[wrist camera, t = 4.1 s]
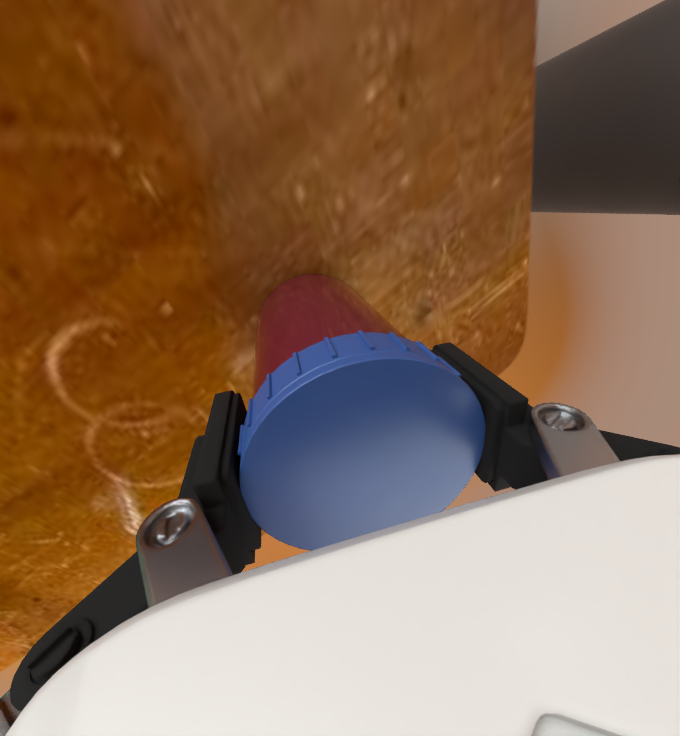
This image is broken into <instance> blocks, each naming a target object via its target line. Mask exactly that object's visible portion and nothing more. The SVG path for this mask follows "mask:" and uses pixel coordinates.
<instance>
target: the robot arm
mask: <svg viewBox="0 0 680 736" xmlns="http://www.w3.org/2000/svg"><path fill="white" fill-rule="evenodd" d="M431 351H432V352H433V353H434V354H435V355H436V356H437V357H438V356H440V357H441V358H442V359H443V360H445V361H446V362H447V363H448V364H449V365H450V366H452V367H453V368H454V369H455V370H456V371H458V372H459V373H460V374H461V375H462V376H461V377H460V378H461V379H462V380H463V381H464V382H465V383H466V384H468V386H469V387H470V388H471V390H472V391H473V392H474V393H475V395H476V397H477V399H478V401H479V403H480V405H481V407H482V411H483V414H484V418H485V427H486V429H485V438H484V446H483V452H482V456H481V459H480V461H479V464H478V466H477V468H476V470H475V473H476V474H477V476H478V477H479V478H480V479H481V480H482V481H483V482H485V483H487V482H488V484H489V485H490V486H491V487H492V488H493V490H494V491H499V490H502V489H506V488H509V487H510V486H511V487H512V488H514V489H515V490H513V491H510V492H506V493H503V494H499V495H496V496H492V497H489V498H486V499H482V500H479V501H476V502H472V503H469V504H466V505H462V506H458V507H455V508H452V509H448V510H445V511H442V512H438V513H435V514H431V515H428V516H425V517H421V518H418V519H415V520H411V521H408V522H405V523H401V524H398V525H394V526H391V527H388V528H384V529H381V530H378V531H374V532H371V533H368V534H364V535H361V536H358V537H355V538H351V539H348V540H345V541H341V542H338V543H335V544H331V545H328V546H325V547H322V548H318V549H315V550H312V551H308V552H305V553H302V554H299V555H295V556H292V557H289V558H285V559H282V560H279V561H276V562H272V563H270V564H266V565H263V566H260V567H257V568H254V569H251V570H248V571H245V572H242V570H243V569H244V568H245V565H248V564H252V563H255V550H256V549H259V548H260V547H261V528H260V527H259V526H258V525H257V524H256V522H255V521H254V520H253V519H252V517H251V515H250V513H249V510H248V508H247V506H246V503H245V501H244V498H243V496H242V494H241V491H240V485H239V472H240V460H241V456H238V446H239V436H240V427H241V425H244V423H245V418H246V414H247V411H246V409H245V406H244V403H243V400H242V397H241V395H240V393H237V394H235V393H234V392H233V391H227V392H223V393H218V394H215V397H214V401H213V404H212V408H211V412H210V416H209V420H208V424H207V428H206V432H205V435H203V436H199V437H197V438H196V440H195V442H194V446H193V449H192V452H191V456H190V459H189V463H188V466H187V469H186V473H185V476H184V480H183V483H182V486H181V490H180V493H179V497H178V498H177V499H173V500H171V501H169V502H167V503H164V504H163V505H161V506H160V507H158V508H157V509H155V510H154V511H153V512H152V513H151V514H150V515H149V516H148V517H147V518H146V519H145V520H144V522H143V523H142V524H141V526H140V527H139V530H138V532H137V535H136V547H137V552H136V553H135V554H133V555H132V556H131V557H130V558H129V559H128V560H127V561H126V562H125V563H123V564H122V565H121V566H120V567H119V568H118V569H117V570H116V571H114V572H113V573H112V574H111V575H110V576H109V577H108V578H107V579H106V580H104V581H103V582H102V583H101V584H100V585H99V586H98V587H97V588H96V589H94V590H93V591H92V592H91V593H90V594H89V595H88V596H87V597H85V598H84V599H83V600H82V601H81V602H80V603H79V604H78V605H77V606H75V607H74V608H73V609H72V610H71V611H70V612H69V613H68V614H66V615H65V616H64V617H63V618H62V619H61V620H60V621H59V622H58V623H56V624H55V625H54V626H53V627H52V628H51V629H50V630H49V631H47V632H46V633H45V634H44V635H43V636H42V637H41V638H40V640H39V641H38V642H37V643H36V644H35V645H34V646H33V647H32V648H31V650H30V651H29V652H28V654H27V655H26V656H25V658H24V659H23V660H22V662H21V664H20V666H19V668H18V670H17V671H16V673H15V675H14V678H13V681H12V684H11V688H10V690H9V691H8V692H7V693H6V694H5V695H4V696H3V697H1V698H0V736H680V448H679V447H675V446H671V445H667V444H662V443H657V442H652V441H648V440H643V439H639V438H634V437H629V436H625V435H620V434H615V433H610V432H606V431H601V430H598V429H597V427H596V426H595V424H594V423H593V422H592V420H591V419H590V418H589V417H588V416H587V415H586V414H585V413H583V412H582V411H580V410H579V409H576V408H574V407H571V406H568V405H564V404H560V403H542V404H539V405H537V406H535V407H534V408H533V407H531V406H530V405H529V404H528V398H526V397H525V396H523V395H522V394H521V393H519V392H518V391H517V390H515V389H514V388H512V387H511V386H510V385H508V384H507V383H505V382H504V381H503V380H501V379H500V378H499V377H497V376H496V375H494V374H493V373H492V372H490V371H489V370H488V369H486V368H485V367H483V366H482V365H481V364H479V363H478V362H477V361H475V360H474V359H472V358H471V357H470V356H468V355H467V354H465V353H464V352H463V351H461V350H460V349H459V348H457V347H456V346H454V345H453V344H452V343H450V342H449V343H444V344H439V345H435V346H434V347H433V350H431ZM241 572H242V573H241Z"/></svg>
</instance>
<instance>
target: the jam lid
mask: <svg viewBox="0 0 680 736" xmlns="http://www.w3.org/2000/svg"><path fill="white" fill-rule="evenodd" d="M292 355H293V356H292V357H291V358H289V359H288V360H287V361H285V362H284V363H283V364H281V365H280V366H279V367H278V368H277V369H276V370H275V371H274V372H273V373H272V374H270V373H268V374H267V375H266V381H265V382H264V383H263V384H262V385H261V387H260V388H259V390H258V391H257V393H256V395H255V396H254V398H253V399H251V398H250V400H249V404H248V411H247V414H246V418H245V423H244V425H241V427H240V436H239V446H238V456H241V460H240V472H239V485H240V491H241V494H242V496H243V498H244V501H245V503H246V506H247V508H248V510H249V513H250V515H251V517H252V519H253V520H254V521H255V522H256V524H257V525H258V526H259V527H260V528H261V529H263V530H264V531H265V532H266V533H267V534H269V535H271V536H272V537H274V538H275V539H277V540H279V541H281V542H283V543H285V544H288V545H291V546H294V547H297V548H300V549H305V550H310V551H312V550H315V549H318V548H322V547H325V546H328V545H331V544H335V543H338V542H341V541H345V540H348V539H351V538H355V537H358V536H361V535H364V534H368V533H371V532H374V531H378V530H381V529H384V528H388V527H391V526H394V525H398V524H401V523H405V522H408V521H411V520H415V519H418V518H421V517H425V516H428V515H431V514H435V513H438V512H442V511H443V510H444V509H445V508H446V507H447V506H449V505H450V504H451V502H453V500H454V499H455V498H456V497H457V496H458V495H459V494H460V493H461V491H462V490H463V489H464V488H465V486H466V485H467V483H468V482H469V480H470V479H471V477H472V476H473V474H474V472H475V470H476V468H477V466H478V464H479V461H480V459H481V456H482V452H483V446H484V438H485V429H486V427H485V418H484V414H483V411H482V407H481V405H480V403H479V401H478V399H477V397H476V395H475V393H474V392H473V391H472V390H471V388H470V387H469V386H468V384H466V383H465V382H464V381H463V380H462V379H461V378H460V377H461V376H462V375H461V374H460V373H459V372H458V371H456V370H455V369H454V368H453V367H452V366H450V365H449V364H448V363H447V362H446V361H445V360H443V359H442V358H441V357H440V356H438V357H437V356H436V355H435V354H434V353H433V352H432V351H431V350H429V349H428V348H427V347H426V346H425V345H424V344H422V343H421V342H420V341H417V343H416V342H413V341H411V340H409V339H406V338H403V337H400V336H397V335H396V334H395V333H394V332H390V333H389V334H385V333H377V332H366V333H363V331H362V330H358V333H353V334H346V335H341V336H337V337H333V338H330V339H329V338H328V337H325V338H324V340H323V341H321V342H319V343H316V344H314V345H311V346H309V347H307V348H306V349H304V350H302V351H300V352H298V353H296V352H294V353H292Z"/></svg>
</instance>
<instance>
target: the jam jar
mask: <svg viewBox="0 0 680 736" xmlns="http://www.w3.org/2000/svg"><path fill="white" fill-rule="evenodd" d="M358 330H362V331H363V333H366V332H377V333H385V334H389V333H390V332H394V333H395V334H396V335H397V336H400V337H403V338H405V337H404V336H403V335H402V334H401V333H400V332H399V331H398V330H397V329H396V328H394V327H393V326H392V325H391V324H390V323H389V322H388V321H387V320H386V319H385V318H384V317H383V316H381V315H380V314H379V313H378V312H377V311H376V310H375V309H374V308H373V307H372V306H371V305H370V304H369V303H367V302H366V301H365V300H364V299H363V298H362V297H361V296H360V295H359V294H358V293H357V292H356V291H354V290H353V289H352V288H351V287H350V286H349V285H347V284H346V283H344V282H343V281H341V280H339V279H337V278H335V277H331V276H328V275H322V274H307V275H301V276H297V277H294V278H292V279H289V280H287V281H286V282H284V283H282V284H281V285H279V286H278V287H277V288H276V289H275V290H274V291H273V292H272V293H271V294H270V295H269V296H268V297H267V299H266V300H265V302H264V303H263V305H262V307H261V310H260V312H259V315H258V320H257V329H256V345H255V361H254V377H253V393H252V399H253V398H254V396H255V395H256V393H257V391H258V390H259V388H260V387H261V385H262V384H263V383H264V382H265V381H266V375H267V374H268V373H270V374H272V373H273V372H274V371H275V370H276V369H277V368H278V367H279V366H280V365H281V364H283V363H284V362H285V361H287V360H288V359H289V358H291V357H292V356H293V355H292V353H294V352H296V353H298V352H300V351H302V350H304V349H306V348H307V347H309V346H311V345H314V344H316V343H319V342H321V341H323V340H324V338H325V337H328V338H329V339H330V338H333V337H337V336H341V335H346V334H353V333H358Z"/></svg>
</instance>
